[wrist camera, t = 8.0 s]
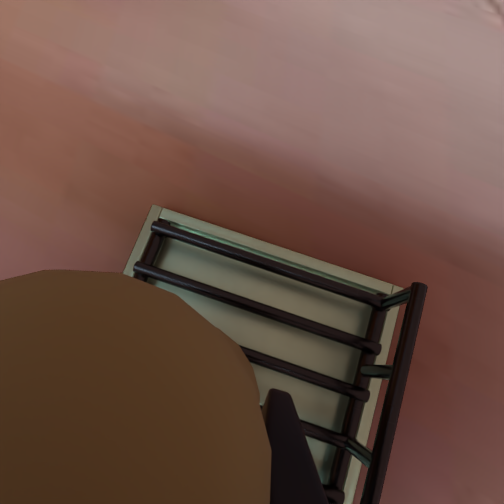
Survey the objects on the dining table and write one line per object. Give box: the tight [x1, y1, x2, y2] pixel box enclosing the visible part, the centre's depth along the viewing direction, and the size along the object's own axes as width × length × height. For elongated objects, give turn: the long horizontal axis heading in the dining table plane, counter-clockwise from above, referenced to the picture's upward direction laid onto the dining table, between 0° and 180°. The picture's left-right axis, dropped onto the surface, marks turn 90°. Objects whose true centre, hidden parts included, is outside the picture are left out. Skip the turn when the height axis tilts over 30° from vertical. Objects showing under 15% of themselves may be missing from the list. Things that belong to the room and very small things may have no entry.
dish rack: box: [123, 204, 428, 504], centre depth 17 cm, size 16×14×6 cm
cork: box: [0, 270, 272, 504], centre depth 9 cm, size 6×6×11 cm
